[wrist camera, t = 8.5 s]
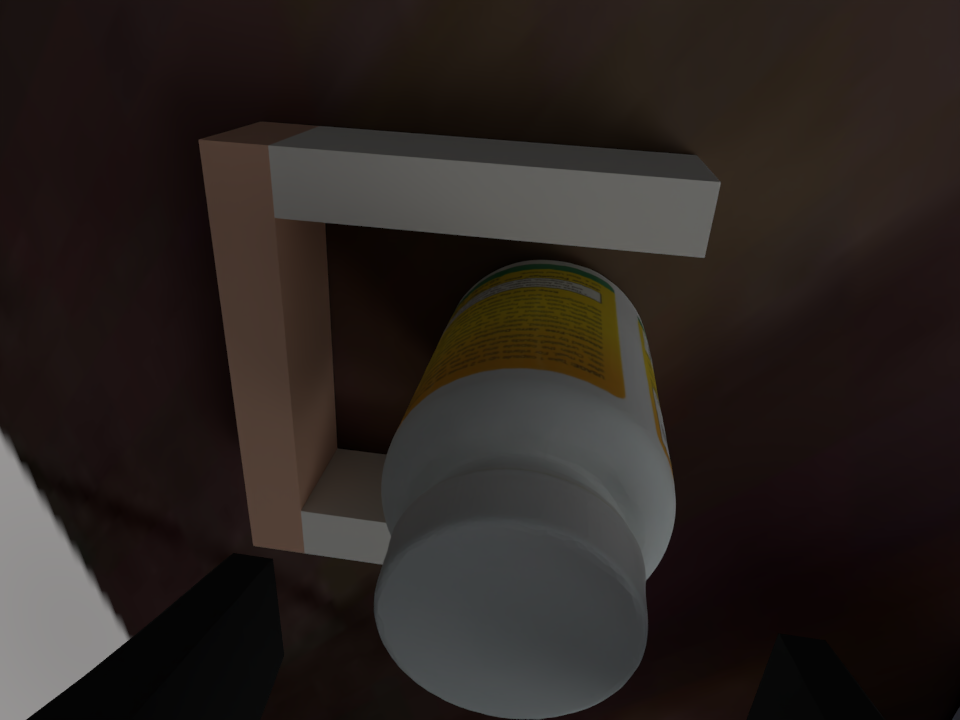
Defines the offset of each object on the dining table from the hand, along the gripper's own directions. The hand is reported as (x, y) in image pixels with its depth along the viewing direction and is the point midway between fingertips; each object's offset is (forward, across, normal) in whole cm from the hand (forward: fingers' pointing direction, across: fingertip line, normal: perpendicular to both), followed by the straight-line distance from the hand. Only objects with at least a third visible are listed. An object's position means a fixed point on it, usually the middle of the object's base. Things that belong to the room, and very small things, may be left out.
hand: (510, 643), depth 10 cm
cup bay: (+10, +2, 0) cm, 10 cm away
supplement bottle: (+10, 0, 0) cm, 10 cm away
